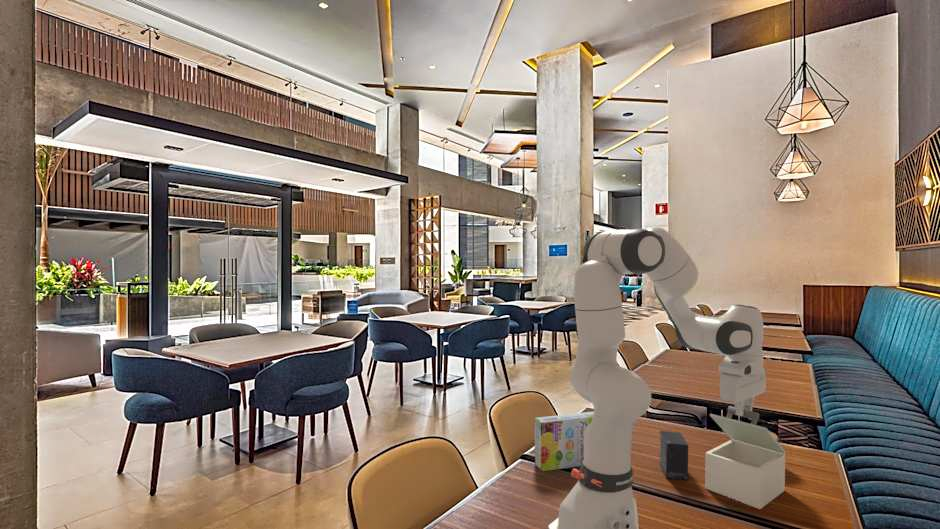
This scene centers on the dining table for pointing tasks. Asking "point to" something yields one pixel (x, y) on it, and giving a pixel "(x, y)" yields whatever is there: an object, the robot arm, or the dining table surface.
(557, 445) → the snack box
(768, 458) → the carton
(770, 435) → the lid
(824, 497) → the dining table surface
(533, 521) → the dining table surface
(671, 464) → the small box
